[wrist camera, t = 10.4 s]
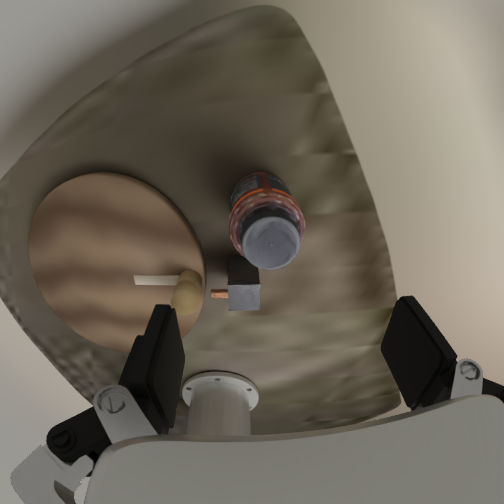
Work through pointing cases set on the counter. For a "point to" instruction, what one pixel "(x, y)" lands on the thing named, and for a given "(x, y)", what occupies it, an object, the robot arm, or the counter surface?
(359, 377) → the counter surface
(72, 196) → the turntable
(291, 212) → the supplement bottle
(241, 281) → the small hammer
